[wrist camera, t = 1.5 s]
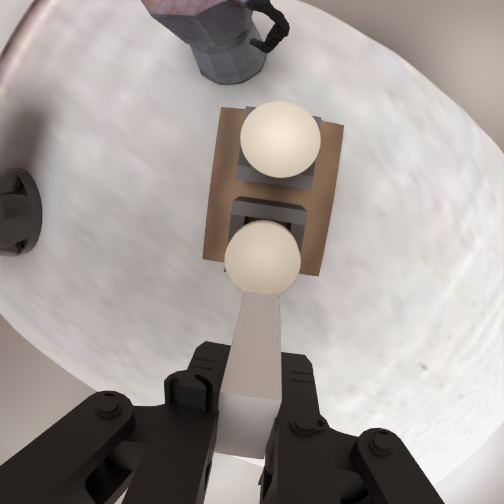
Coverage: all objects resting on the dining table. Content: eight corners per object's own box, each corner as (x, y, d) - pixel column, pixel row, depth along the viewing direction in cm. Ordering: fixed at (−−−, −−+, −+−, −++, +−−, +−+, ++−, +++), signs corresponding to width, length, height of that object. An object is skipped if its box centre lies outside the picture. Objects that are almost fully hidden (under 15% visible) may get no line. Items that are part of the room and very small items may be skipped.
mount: (207, 253, 38) (189, 275, 29) (224, 111, 33) (210, 93, 25) (315, 269, 37) (326, 296, 29) (339, 128, 32) (358, 115, 24)
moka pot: (207, 9, 29) (163, -84, 10) (306, 57, 30) (334, -39, 11) (166, 60, 31) (85, -12, 12) (264, 113, 33) (254, 44, 13)
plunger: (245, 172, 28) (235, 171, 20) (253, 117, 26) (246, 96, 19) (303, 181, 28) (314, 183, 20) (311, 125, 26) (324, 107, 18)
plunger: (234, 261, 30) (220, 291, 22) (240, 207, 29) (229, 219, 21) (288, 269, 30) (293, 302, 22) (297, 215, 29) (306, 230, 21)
